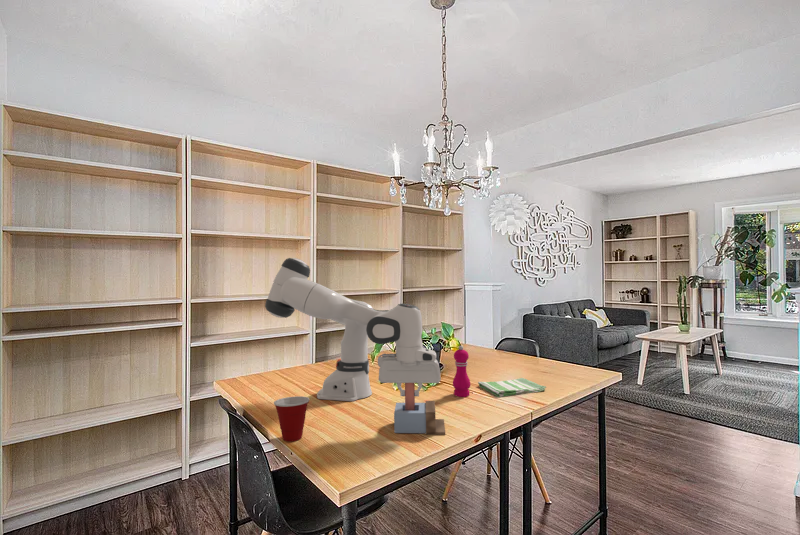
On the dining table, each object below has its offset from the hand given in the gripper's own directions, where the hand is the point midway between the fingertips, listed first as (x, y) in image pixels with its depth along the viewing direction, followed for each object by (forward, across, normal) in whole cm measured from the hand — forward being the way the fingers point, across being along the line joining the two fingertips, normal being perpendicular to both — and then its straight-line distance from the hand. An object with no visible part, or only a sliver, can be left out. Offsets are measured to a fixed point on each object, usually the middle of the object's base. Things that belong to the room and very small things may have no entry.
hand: (409, 395), depth 136 cm
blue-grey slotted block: (+10, 0, 0) cm, 10 cm away
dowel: (+5, 0, 0) cm, 5 cm away
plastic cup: (+11, -36, -9) cm, 39 cm away
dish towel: (+11, +41, +44) cm, 62 cm away
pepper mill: (+10, +20, +35) cm, 42 cm away
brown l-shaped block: (+10, +8, 0) cm, 13 cm away
